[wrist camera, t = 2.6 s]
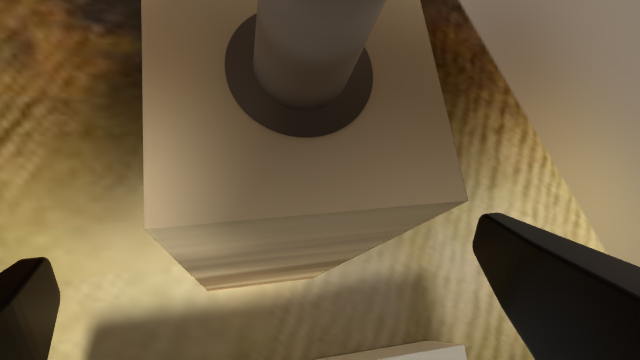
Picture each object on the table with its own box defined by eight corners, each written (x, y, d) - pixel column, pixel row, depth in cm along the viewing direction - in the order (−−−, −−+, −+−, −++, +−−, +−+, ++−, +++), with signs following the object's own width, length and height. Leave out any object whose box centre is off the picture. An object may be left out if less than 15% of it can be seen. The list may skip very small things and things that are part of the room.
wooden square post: (312, 278, 18) (614, 128, 4) (207, 291, 17) (67, 154, 3) (300, 181, 19) (492, -211, 5) (202, 188, 18) (84, -276, 4)
